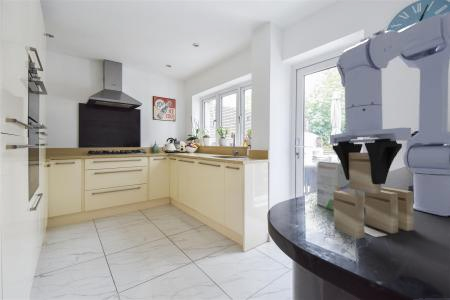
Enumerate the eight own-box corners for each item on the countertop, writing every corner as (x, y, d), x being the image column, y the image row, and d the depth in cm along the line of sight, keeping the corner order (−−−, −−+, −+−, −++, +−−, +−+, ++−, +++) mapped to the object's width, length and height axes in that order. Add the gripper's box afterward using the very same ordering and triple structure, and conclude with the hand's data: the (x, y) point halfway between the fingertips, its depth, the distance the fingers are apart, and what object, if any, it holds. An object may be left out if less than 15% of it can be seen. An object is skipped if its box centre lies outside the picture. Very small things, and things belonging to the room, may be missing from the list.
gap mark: (356, 223, 42) (356, 223, 42) (386, 235, 36) (386, 234, 36) (346, 225, 41) (346, 224, 41) (375, 237, 35) (375, 236, 35)
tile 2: (371, 223, 42) (371, 188, 42) (398, 232, 37) (397, 193, 37) (365, 223, 41) (364, 188, 42) (391, 233, 37) (390, 193, 37)
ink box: (316, 204, 57) (315, 161, 57) (333, 202, 58) (332, 160, 58) (338, 213, 49) (337, 162, 49) (357, 211, 50) (356, 162, 50)
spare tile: (356, 188, 41) (355, 152, 41) (380, 192, 36) (380, 152, 36) (349, 188, 41) (348, 152, 41) (373, 193, 36) (372, 152, 36)
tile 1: (386, 221, 43) (385, 187, 43) (413, 229, 38) (413, 191, 38) (380, 221, 42) (379, 187, 43) (407, 230, 38) (406, 192, 38)
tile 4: (341, 227, 40) (340, 190, 40) (364, 237, 35) (363, 196, 35) (334, 228, 40) (333, 191, 40) (357, 238, 35) (356, 196, 35)
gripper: (317, 114, 44) (318, 177, 44) (385, 97, 30) (387, 189, 30) (344, 115, 46) (345, 176, 46) (420, 99, 32) (422, 187, 32)
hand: (364, 181), depth 38 cm, fingers closed on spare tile, 5 cm apart
